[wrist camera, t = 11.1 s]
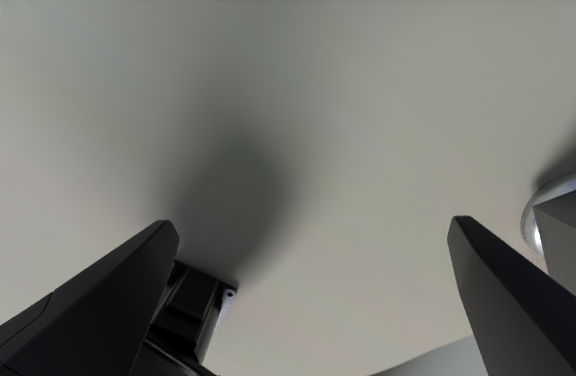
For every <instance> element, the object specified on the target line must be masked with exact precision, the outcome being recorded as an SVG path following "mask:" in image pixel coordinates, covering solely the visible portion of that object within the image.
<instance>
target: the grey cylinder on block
mask: <svg viewBox="0 0 576 376" xmlns="http://www.w3.org/2000/svg"><path fill="white" fill-rule="evenodd" d="M532 208H533V212H534V216H535V220H536V224H537V228H538V232H539V236H540V241H541V245H542V249H543V253H544V257H545V261H546V265H547V269H548V273H549V276H550V277H551V278H552V279H554V280H555V281H556V282H558V283H559V284H560V285H562V286H563V287H564V288H566V289H567V290H568V291H569V292H571V293H572V294H573V295H575V296H576V190H573V191H571V192H568V193H566V194H563V195H560V196H558V197H555V198H552V199H550V200H547V201H544V202H542V203H539V204H536V205H534V206H532Z"/></svg>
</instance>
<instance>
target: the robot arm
mask: <svg viewBox="0 0 576 376" xmlns="http://www.w3.org/2000/svg"><path fill="white" fill-rule="evenodd" d="M179 240H180V239H179V235H178V233H177V231H176V229H175V227H174V226H173V224H172V222H171V221H170V220H157V221H155V222H154V223H152V224H151V225H149V226H148V227H146V228H145V229H144V230H142V231H141V232H139V233H138V234H136V235H135V236H133V237H132V238H130V239H129V240H127V241H126V242H124V243H123V244H121V245H120V246H119V247H117V248H116V249H114V250H113V251H111V252H110V253H108V254H107V255H105V256H104V257H102V258H101V259H99V260H98V261H96V262H95V263H94V264H92V265H91V266H89V267H88V268H86V269H85V270H83V271H82V272H80V273H79V274H77V275H76V276H74V277H73V278H71V279H70V280H68V281H67V282H66V283H64V284H63V285H61V286H60V287H58V288H57V289H55V290H54V292H51V293H49V294H48V295H46V296H45V297H43V298H42V299H40V300H39V301H38V302H36V303H34V304H33V305H31V306H30V307H28V308H27V309H25V310H24V311H22V312H21V313H19V314H18V315H16V316H15V317H13V318H11V319H10V320H8V321H7V322H5V323H3V324H2V325H0V376H217V375H215V374H214V373H212V372H211V371H210V370H208V369H207V368H205V367H204V366H202V363H203V360H204V357H205V354H206V351H207V348H208V346H209V343H210V340H211V337H212V335H213V333H214V332H215V330H216V328H217V327H218V325H219V323H220V322H221V320H222V318H223V317H224V315H225V313H226V312H227V310H228V308H229V307H230V305H231V304H232V302H233V300H234V299H235V297H236V294H237V290H236V289H235V288H234V287H232V286H230V285H228V284H225V283H223V282H221V281H219V280H217V279H215V278H213V277H210V276H208V275H206V274H204V273H202V272H200V271H197V270H195V269H193V268H191V267H189V266H187V265H185V264H182V263H180V262H178V261H176V260H174V259H175V255H176V252H177V248H178V245H179ZM447 241H448V247H449V251H450V256H451V260H452V265H453V269H454V273H455V278H456V282H457V286H458V290H459V294H460V297H461V300H462V303H463V306H464V309H465V311H466V314H467V317H468V320H469V322H470V325H471V328H472V331H473V334H474V336H475V339H476V342H477V345H478V348H479V350H480V353H481V356H482V359H483V362H484V364H485V367H486V370H487V372H488V375H489V376H576V296H575V295H573V294H572V293H571V292H569V291H568V290H567V289H566V288H564V287H563V286H562V285H560V284H559V283H558V282H556V281H555V280H554V279H552V278H551V277H550V276H548V275H547V274H546V273H545V272H543V271H542V270H541V269H539V268H538V267H537V266H535V265H534V264H533V263H531V262H530V261H529V260H527V259H526V258H525V257H524V256H522V255H521V254H520V253H518V252H517V251H516V250H514V249H513V248H512V247H510V246H509V245H508V244H506V243H505V242H504V241H503V240H501V239H500V238H499V237H497V236H496V235H495V234H493V233H492V232H491V231H489V230H488V229H487V228H485V227H484V226H483V225H482V224H480V223H479V222H478V221H476V220H475V219H474V218H472V217H471V216H454V217H453V218H452V220H451V224H450V228H449V232H448V236H447ZM172 266H173V267H172ZM229 292H231V293H233V294H230V293H229ZM219 376H220V375H219Z"/></svg>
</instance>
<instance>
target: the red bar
mask: <svg viewBox="0 0 576 376" xmlns="http://www.w3.org/2000/svg"><path fill="white" fill-rule="evenodd" d="M573 190H576V172H573V173H568V174H565V175H562V176H560V177H558V178H556V179H554V180H552V181H550V182H549V183H547V184H546V185H544V186H543V187H542V188H541V189H540V190H538V191H537V192H536V193H535V194H534V195H533V197H532V198H531V199H530V201H529V202H528V204H527V205H526V207H525V209H524V211H523V214H522V218H521V233H522V236H523V239H524V240H525V242H526V243H527V244H528V246H529V247H531V248H532V249H533V250H535V251H536V252H537V253H539V254H540V255H542V256H543V257H544V253H543V249H542V245H541V241H540V236H539V232H538V228H537V224H536V220H535V216H534V212H533V208H532V206H534V205H536V204H539V203H542V202H544V201H547V200H550V199H552V198H555V197H558V196H560V195H563V194H566V193H568V192H571V191H573ZM544 258H545V257H544Z"/></svg>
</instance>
